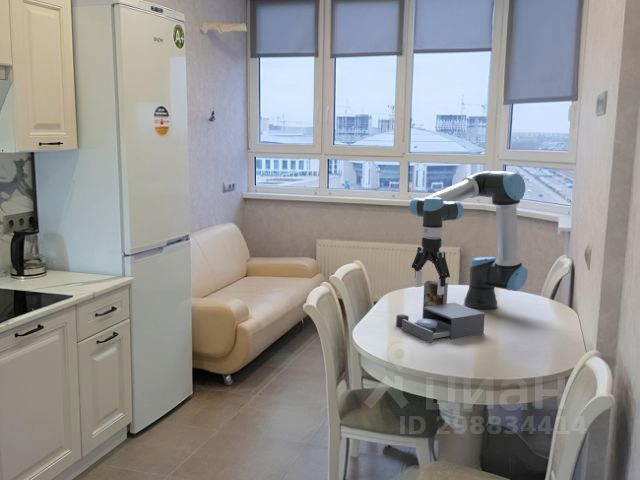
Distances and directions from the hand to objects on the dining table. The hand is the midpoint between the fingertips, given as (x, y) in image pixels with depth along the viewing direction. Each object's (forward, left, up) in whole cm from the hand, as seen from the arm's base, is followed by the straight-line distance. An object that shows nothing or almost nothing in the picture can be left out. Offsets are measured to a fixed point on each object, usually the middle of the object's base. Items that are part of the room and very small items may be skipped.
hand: (429, 290), depth 241 cm
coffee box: (-17, -16, -18) cm, 30 cm away
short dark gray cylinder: (+2, -14, -18) cm, 23 cm away
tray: (-3, 0, -18) cm, 18 cm away
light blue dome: (0, 0, -14) cm, 14 cm away
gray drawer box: (-13, 0, -18) cm, 22 cm away
